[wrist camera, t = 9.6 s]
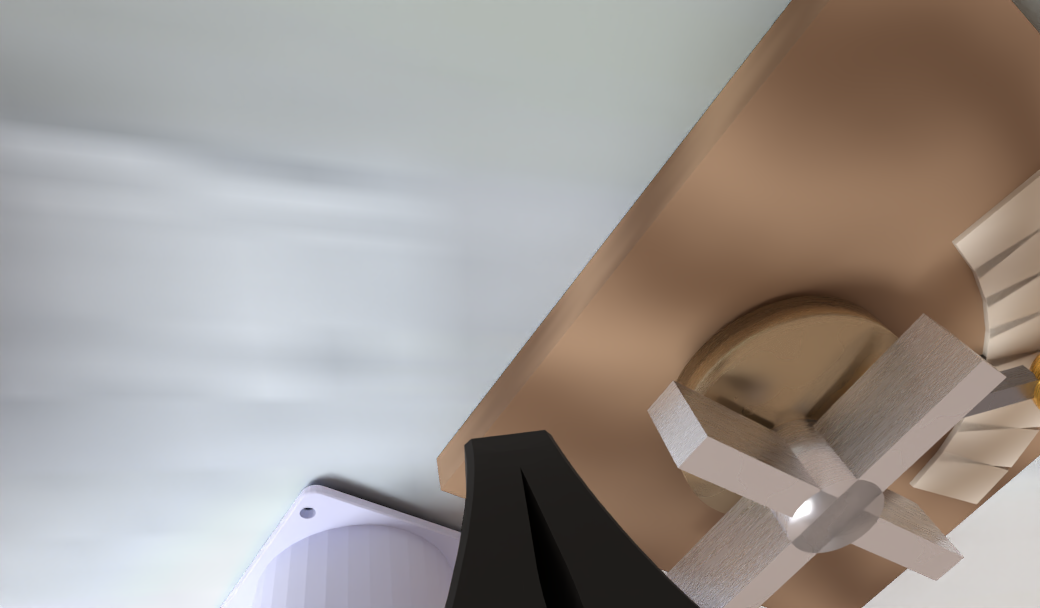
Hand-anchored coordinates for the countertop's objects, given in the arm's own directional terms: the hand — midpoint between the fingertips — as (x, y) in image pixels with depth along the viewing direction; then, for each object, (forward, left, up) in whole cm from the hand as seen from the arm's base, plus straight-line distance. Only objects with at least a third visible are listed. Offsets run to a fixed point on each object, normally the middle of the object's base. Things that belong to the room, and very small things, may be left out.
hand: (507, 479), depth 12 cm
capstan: (+1, -14, -9) cm, 17 cm away
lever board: (+3, -15, -10) cm, 19 cm away
